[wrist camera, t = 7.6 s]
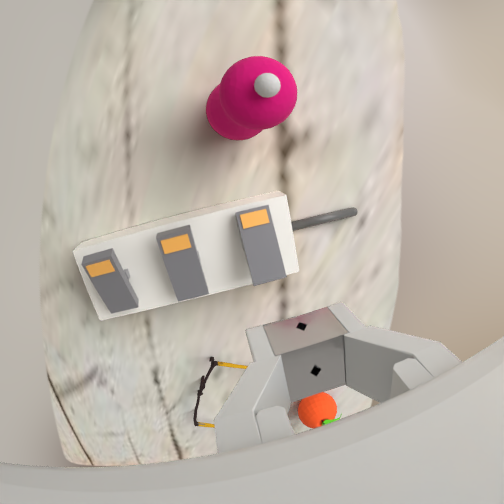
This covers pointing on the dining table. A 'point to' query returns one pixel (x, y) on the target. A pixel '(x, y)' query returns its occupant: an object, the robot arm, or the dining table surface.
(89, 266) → the block
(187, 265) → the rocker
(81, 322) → the dining table surface
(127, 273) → the power strip
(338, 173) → the dining table surface
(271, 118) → the pepper mill
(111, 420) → the dining table surface
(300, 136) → the dining table surface
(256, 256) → the rocker
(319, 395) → the clementine
